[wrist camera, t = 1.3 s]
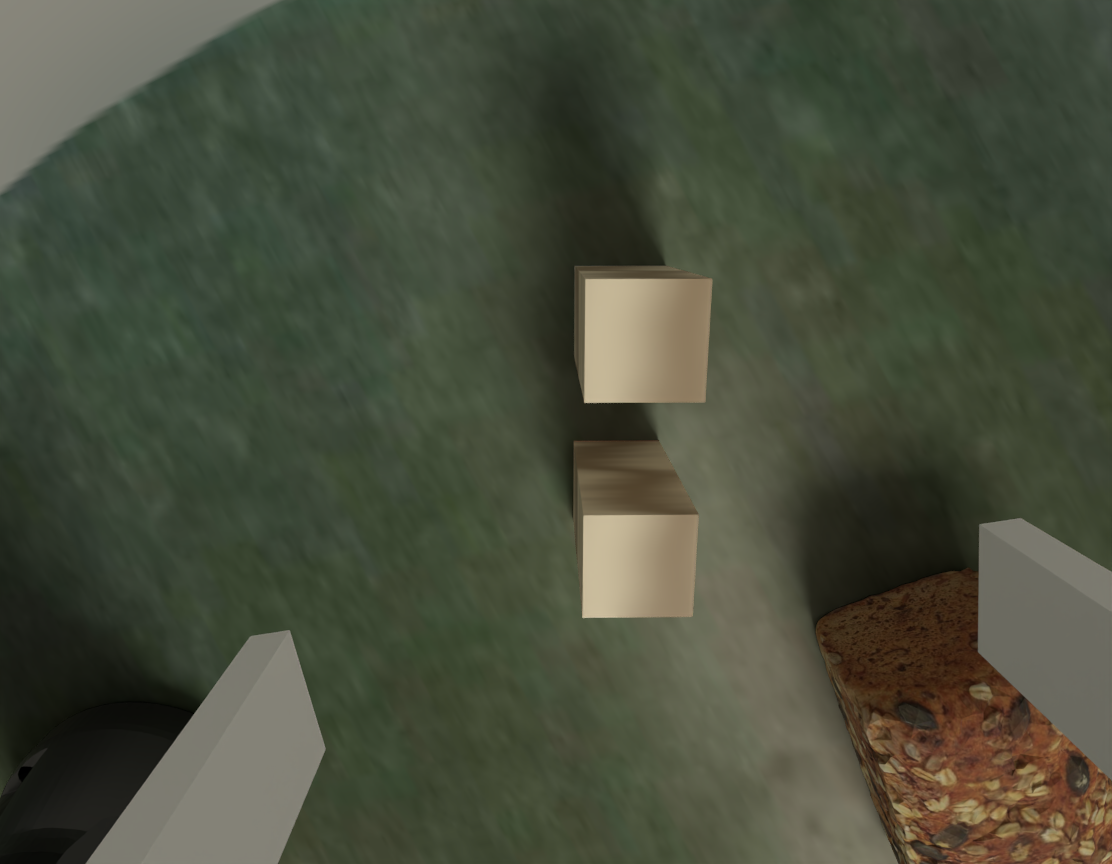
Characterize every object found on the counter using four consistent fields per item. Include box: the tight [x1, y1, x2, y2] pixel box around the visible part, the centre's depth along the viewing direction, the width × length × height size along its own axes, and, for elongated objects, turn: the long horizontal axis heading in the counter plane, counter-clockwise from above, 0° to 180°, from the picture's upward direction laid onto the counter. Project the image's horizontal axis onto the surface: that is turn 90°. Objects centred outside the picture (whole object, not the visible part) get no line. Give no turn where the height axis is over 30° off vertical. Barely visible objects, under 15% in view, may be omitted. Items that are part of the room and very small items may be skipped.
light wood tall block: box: [573, 440, 699, 618], centre depth 32 cm, size 4×4×10 cm
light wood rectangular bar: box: [574, 266, 712, 403], centre depth 30 cm, size 4×4×10 cm
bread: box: [816, 568, 1112, 864], centre depth 37 cm, size 19×11×10 cm, turn 22°
